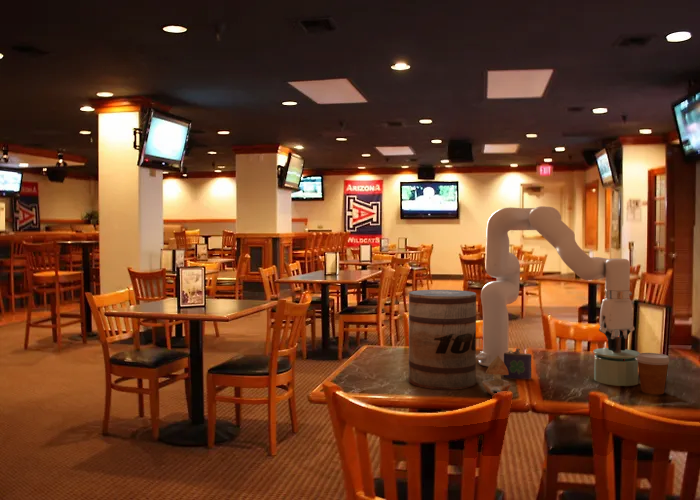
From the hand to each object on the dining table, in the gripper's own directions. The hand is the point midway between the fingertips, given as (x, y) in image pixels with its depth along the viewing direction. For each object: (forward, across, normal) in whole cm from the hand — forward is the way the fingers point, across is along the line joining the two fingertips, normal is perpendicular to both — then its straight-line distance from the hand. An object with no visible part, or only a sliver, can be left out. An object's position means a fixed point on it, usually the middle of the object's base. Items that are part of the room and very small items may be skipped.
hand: (616, 349), depth 214 cm
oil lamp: (+11, +46, +4) cm, 48 cm away
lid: (+1, 0, 0) cm, 1 cm away
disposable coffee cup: (+11, -2, +15) cm, 19 cm away
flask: (+11, +30, -12) cm, 34 cm away
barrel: (+11, +56, -16) cm, 59 cm away
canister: (+11, 0, 0) cm, 11 cm away
